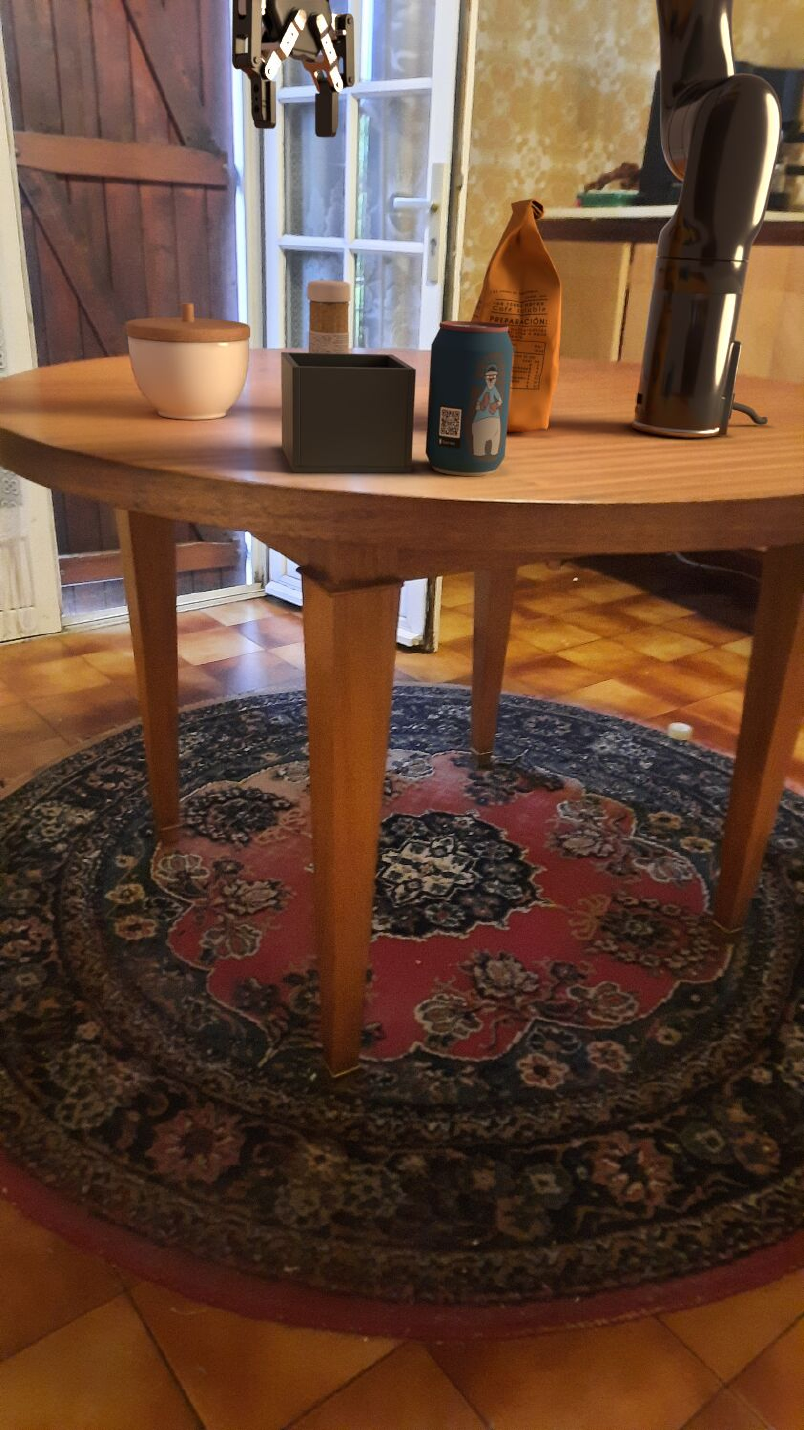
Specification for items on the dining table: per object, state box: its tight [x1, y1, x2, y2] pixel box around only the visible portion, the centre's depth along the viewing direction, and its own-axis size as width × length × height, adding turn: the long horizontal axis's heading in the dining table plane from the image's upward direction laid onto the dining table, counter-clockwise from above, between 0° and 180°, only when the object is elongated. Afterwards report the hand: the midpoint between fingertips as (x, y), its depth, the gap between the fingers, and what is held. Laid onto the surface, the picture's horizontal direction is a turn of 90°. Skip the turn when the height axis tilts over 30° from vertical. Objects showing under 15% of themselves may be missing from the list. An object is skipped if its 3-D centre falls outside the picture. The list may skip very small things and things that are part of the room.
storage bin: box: [280, 351, 417, 474], centre depth 89 cm, size 10×10×8 cm
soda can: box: [425, 320, 514, 477], centre depth 87 cm, size 7×7×12 cm
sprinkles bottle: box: [307, 279, 351, 354], centre depth 112 cm, size 5×5×13 cm
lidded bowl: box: [125, 302, 251, 421], centre depth 106 cm, size 13×13×11 cm
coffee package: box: [470, 197, 562, 433], centre depth 105 cm, size 10×12×22 cm
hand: (296, 133), depth 97 cm, fingers open, 8 cm apart
